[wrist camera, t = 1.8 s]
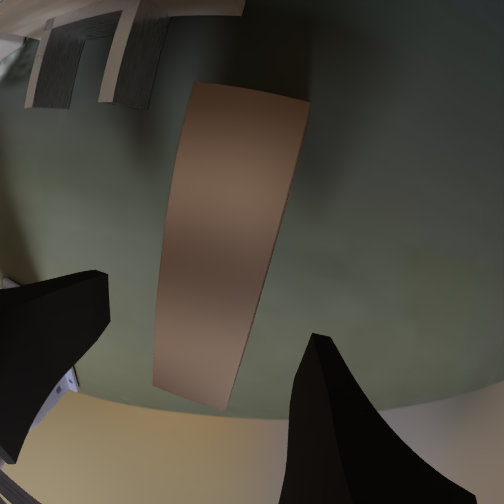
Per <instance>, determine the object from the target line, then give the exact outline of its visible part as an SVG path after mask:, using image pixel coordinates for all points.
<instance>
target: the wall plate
mask: <svg viewBox="0 0 504 504" xmlns="http://www.w3.org/2000/svg"><path fill="white" fill-rule="evenodd" d="M104 1H108V0H5V1H4V2H2V3H1V4H0V32H5V33H10V34H15V35H20V36H25V37H29V38H34V39H38V40H41V37H42V34H43V31H44V28H45V25H46V22H47V20H48V19H51V18H53V17H56V16H58V15H61V14H64V13H67V12H70V11H73V10H76V9H79V8H82V7H86V6H89V5H93V4H96V3H100V2H104ZM152 1H153V2H155V3H156V4H157V5H158V6H159V7H161V8H162V9H163V10H164V11H165V12H167V13H168V14H169V15H170V16H189V15H226V16H242V13H243V9H244V6H245V2H246V0H152Z"/></svg>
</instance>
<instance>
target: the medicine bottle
mask: <svg viewBox="0 0 504 504" xmlns="http://www.w3.org/2000/svg"><path fill="white" fill-rule="evenodd" d="M4 1H5V0H0V4H1V3H2V2H4ZM24 42H25V36H20V35H15V34H10V33H5V32H0V61H1V60H2V59H4V58H5V57H6V56H8V55H9V54H11V53H12V52H14V51H15V50H16V49H18V48H19V47H21V46H22V45H23V44H24Z"/></svg>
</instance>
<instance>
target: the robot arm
mask: <svg viewBox="0 0 504 504" xmlns="http://www.w3.org/2000/svg"><path fill="white" fill-rule="evenodd" d="M3 287H4V289H0V493H1V494H2V495H3V496H4V497H5V498H6V499H7V500H8V501H9V502H11V503H12V504H41V503H40V502H38V501H37V500H36V499H34V498H33V497H32V496H30V495H29V494H28V493H27V492H25V491H24V490H23V489H22V488H21V487H20V486H18V485H17V484H16V483H15V482H14V481H13V480H11V479H10V478H9V477H8V476H7V475H6V474H5V473H4V472H2V470H1V468H2V467H3V465H4V463H5V462H6V463H7V464H16V461H17V459H18V456H19V453H20V450H21V448H22V445H23V443H24V440H25V438H26V436H27V434H28V431H30V430H32V429H34V428H35V427H36V426H37V425H38V424H39V423H40V422H41V421H42V419H43V418H44V417H45V416H46V415H47V414H48V412H49V411H50V410H51V409H52V408H53V407H54V406H55V405H56V403H57V402H58V401H59V400H60V399H61V398H62V397H63V395H64V394H65V393H66V392H67V391H68V390H69V389H70V390H72V391H74V392H78V390H79V387H78V383H77V380H76V376H75V373H74V369H73V366H74V365H75V363H76V362H77V361H78V360H79V359H80V358H81V357H82V356H83V355H84V354H85V353H86V352H87V351H88V350H89V349H90V348H91V346H92V345H93V344H94V343H95V342H96V341H97V340H98V338H99V337H100V336H101V334H102V333H103V331H104V330H105V328H106V327H107V325H108V324H109V323H110V321H111V320H110V307H109V288H108V274H106V273H103V272H100V271H97V270H89V271H83V272H78V273H74V274H70V275H65V276H61V277H57V278H53V279H49V280H45V281H41V282H36V283H32V284H27V285H23V286H20V285H18V284H16V283H15V282H13V281H11V280H9V279H8V278H4V279H3ZM0 504H6V503H5V502H4V500H3V499H2V498H1V497H0ZM279 504H477V501H476V497H475V495H474V494H472V493H470V492H469V491H467V490H465V489H464V488H462V487H460V486H459V485H457V484H455V483H454V482H452V481H450V480H449V479H447V478H446V477H444V476H443V475H442V474H440V473H439V472H438V471H436V470H435V469H434V468H433V467H431V466H430V465H429V464H427V463H426V462H425V461H424V460H423V459H422V458H420V457H419V456H418V455H417V454H416V453H415V452H414V451H413V450H412V449H411V448H410V447H409V446H408V445H406V444H405V443H404V442H403V441H402V440H401V439H400V437H399V436H398V435H397V434H396V433H395V432H394V431H393V430H392V429H391V428H390V426H389V425H388V424H387V423H386V422H385V421H384V419H383V418H382V417H381V416H380V414H379V413H378V412H377V411H376V409H375V408H374V407H373V405H372V404H371V402H370V401H369V400H368V398H367V397H366V395H365V394H364V392H363V391H362V389H361V388H360V386H359V385H358V383H357V382H356V380H355V379H354V377H353V375H352V374H351V372H350V370H349V369H348V367H347V365H346V363H345V362H344V360H343V358H342V356H341V355H340V353H339V351H338V349H337V347H336V346H335V344H334V342H333V340H332V339H331V337H329V336H324V335H319V334H315V333H312V335H311V337H310V340H309V342H308V345H307V348H306V350H305V353H304V355H303V358H302V360H301V363H300V365H299V368H298V370H297V373H296V375H295V378H294V383H293V388H292V394H291V400H290V410H289V430H288V449H287V462H286V471H285V476H284V481H283V486H282V491H281V495H280V500H279Z"/></svg>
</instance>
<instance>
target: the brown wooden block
mask: <svg viewBox="0 0 504 504" xmlns="http://www.w3.org/2000/svg"><path fill="white" fill-rule="evenodd" d="M310 105H311V103H310V102H306V101H302V100H298V99H294V98H290V97H286V96H281V95H277V94H272V93H267V92H262V91H257V90H252V89H246V88H240V87H234V86H228V85H221V84H213V83H205V82H196V81H194V83H193V87H192V91H191V95H190V99H189V103H188V107H187V111H186V115H185V120H184V124H183V129H182V133H181V138H180V143H179V147H178V152H177V157H176V162H175V168H174V173H173V179H172V184H171V190H170V196H169V202H168V209H167V215H166V222H165V229H164V237H163V245H162V253H161V261H160V271H159V280H158V291H157V303H156V316H155V332H154V353H153V386H155V387H157V388H160V389H162V390H165V391H168V392H170V393H173V394H175V395H178V396H181V397H183V398H186V399H189V400H192V401H195V402H198V403H201V404H204V405H207V406H210V407H213V408H216V409H219V410H222V411H225V410H226V407H227V404H228V401H229V398H230V395H231V391H232V388H233V385H234V382H235V379H236V376H237V373H238V370H239V367H240V364H241V360H242V357H243V354H244V351H245V348H246V344H247V341H248V338H249V334H250V331H251V328H252V324H253V321H254V317H255V314H256V310H257V307H258V304H259V300H260V297H261V293H262V290H263V286H264V283H265V279H266V276H267V272H268V269H269V265H270V262H271V258H272V254H273V251H274V247H275V244H276V240H277V236H278V233H279V229H280V226H281V222H282V218H283V215H284V211H285V207H286V204H287V200H288V196H289V192H290V189H291V185H292V181H293V177H294V174H295V170H296V166H297V162H298V158H299V154H300V151H301V147H302V143H303V139H304V135H305V131H306V127H307V123H308V118H309V112H310Z"/></svg>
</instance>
